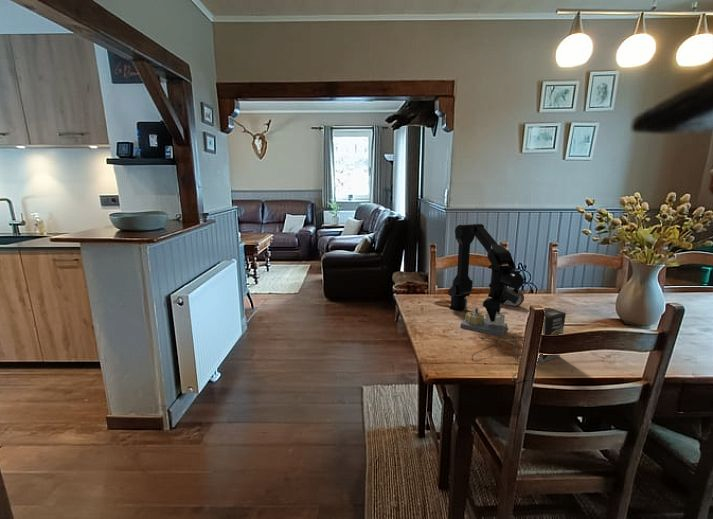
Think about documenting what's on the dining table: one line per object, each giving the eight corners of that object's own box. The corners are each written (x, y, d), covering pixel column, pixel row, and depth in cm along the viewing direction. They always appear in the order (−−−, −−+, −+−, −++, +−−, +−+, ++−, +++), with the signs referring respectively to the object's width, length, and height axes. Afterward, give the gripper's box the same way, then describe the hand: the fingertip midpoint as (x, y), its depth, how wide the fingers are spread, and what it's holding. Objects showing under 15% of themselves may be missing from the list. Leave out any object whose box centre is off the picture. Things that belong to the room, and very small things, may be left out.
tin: (523, 306, 177) (525, 289, 175) (522, 308, 174) (524, 291, 172) (490, 300, 185) (492, 284, 183) (489, 302, 182) (490, 286, 180)
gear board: (460, 327, 152) (461, 312, 151) (468, 318, 161) (469, 304, 160) (501, 336, 144) (502, 320, 142) (506, 326, 153) (508, 312, 151)
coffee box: (543, 362, 124) (549, 317, 120) (526, 354, 129) (531, 311, 126) (560, 356, 128) (566, 312, 124) (544, 349, 133) (549, 306, 130)
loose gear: (501, 326, 145) (502, 319, 144) (483, 322, 149) (484, 315, 148) (505, 320, 151) (506, 313, 150) (487, 317, 155) (488, 310, 154)
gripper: (515, 291, 134) (511, 331, 138) (524, 279, 149) (520, 315, 153) (484, 286, 140) (480, 324, 144) (495, 275, 155) (492, 310, 159)
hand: (494, 318), depth 150 cm, fingers closed on loose gear, 7 cm apart
